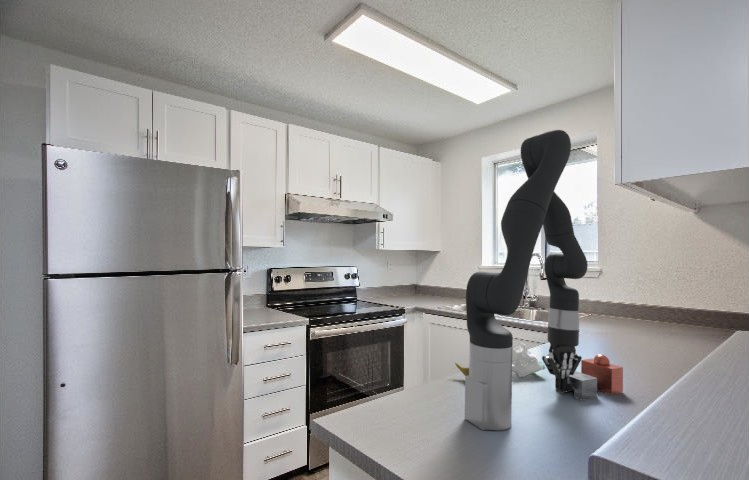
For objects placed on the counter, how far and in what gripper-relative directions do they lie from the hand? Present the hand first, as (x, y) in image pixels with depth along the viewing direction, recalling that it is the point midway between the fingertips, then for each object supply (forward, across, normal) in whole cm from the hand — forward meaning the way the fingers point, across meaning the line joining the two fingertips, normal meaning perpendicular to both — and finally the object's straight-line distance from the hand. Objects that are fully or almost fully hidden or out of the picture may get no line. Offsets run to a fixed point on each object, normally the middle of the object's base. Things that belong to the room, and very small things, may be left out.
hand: (561, 391), depth 99 cm
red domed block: (+1, +13, 0) cm, 14 cm away
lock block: (+1, +6, 0) cm, 6 cm away
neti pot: (+2, -15, +16) cm, 22 cm away
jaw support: (+1, +5, +18) cm, 19 cm away
